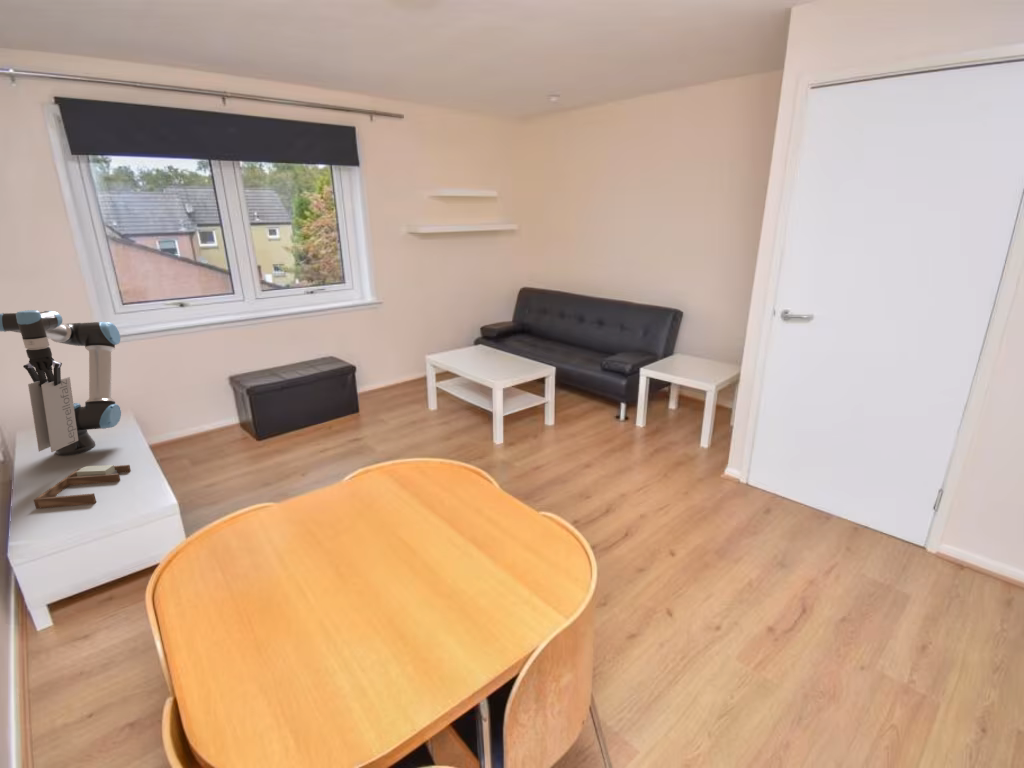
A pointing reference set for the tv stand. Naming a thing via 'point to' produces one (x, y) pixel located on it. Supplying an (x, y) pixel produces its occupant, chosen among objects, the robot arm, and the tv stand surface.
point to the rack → (49, 496)
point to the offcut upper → (95, 470)
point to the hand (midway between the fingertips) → (53, 401)
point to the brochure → (53, 414)
